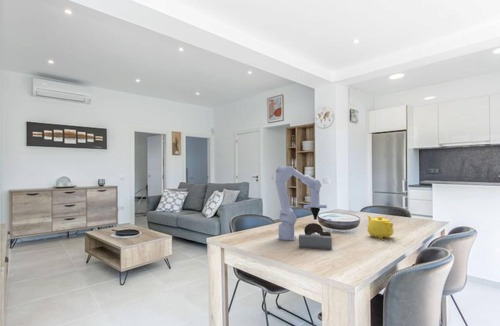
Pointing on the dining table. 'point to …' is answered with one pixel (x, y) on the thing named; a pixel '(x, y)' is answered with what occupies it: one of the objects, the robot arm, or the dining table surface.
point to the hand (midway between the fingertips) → (315, 219)
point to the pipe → (315, 230)
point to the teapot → (380, 227)
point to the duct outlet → (315, 241)
